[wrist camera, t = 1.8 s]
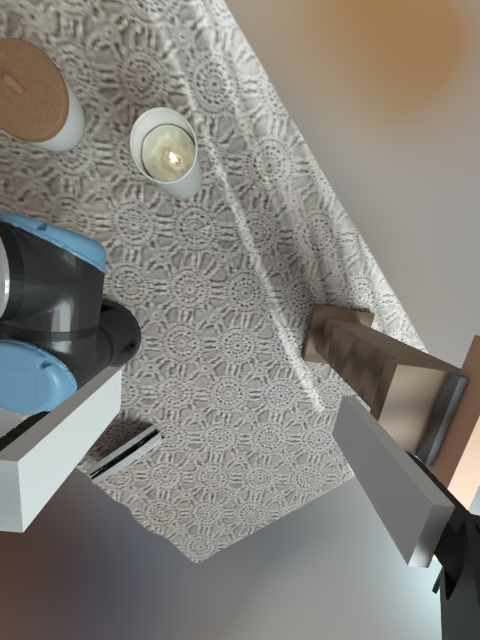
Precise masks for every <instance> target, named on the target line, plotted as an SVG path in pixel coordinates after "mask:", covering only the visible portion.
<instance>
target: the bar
mask: <svg viewBox="0 0 480 640" xmlns="http://www.w3.org/2000/svg"><path fill="white" fill-rule="evenodd" d="M460 375H462V376H464V377H466V378H468V380H467V383H466V385H465V388H464V390H463V392H462V395H461V397H460V400H459V402H458V405H457V407H456V409H455V412H454V414H453V417H452V419H451V422H450V424H449V426H448V429H447V431H446V434H445V436H444V439H443V441H442V443H441V446H440V448H439V451H438V453H437V456H436V458H435V460H434V463H433V465H432V466H430V465H425V464H424V463H423V464H424V465H425V466H426V467H427V468H428V469H429V470H430V472H431V473H433V474H434V475H435V476H436V478H437V479H438V480H439V482H441V483H442V484H443V485H444V486H445V487H446V488H447V489H448V490H449V491H450V492H451V493H452V494H453V495H454V496H455V498H456V499H457V500H458V501H459V502H460V503H461V504H462V505H463V506H464V507H465V508H466V509H467V510H468V508H469V506H470V504H471V502H472V500H473V498H474V495H475V493H476V491H477V489H478V487H479V485H480V336H477V335H475V336H474V339H473V341H472V344H471V346H470V349H469V351H468V354H467V357H466V359H465V362H464V364H463V367H462V369H461V371H460ZM432 560H438V559H437V558H436V556H435V555H434V556H433V558H432Z"/></svg>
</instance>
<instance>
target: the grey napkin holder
mask: <svg viewBox="0 0 480 640" xmlns="http://www.w3.org/2000/svg"><path fill="white" fill-rule="evenodd" d="M156 428H157V427H156V426H155V425H154V424H153V425H152V426H150V427H149V428H147V429H146V430H144V431H143V432H141V433H140V434H138V435H137V436H135V437H134V438H132V439H131V440H129V441H128V442H127V443H125V444H124V445H122V446H121V447H119V448H118V449H116V450H115V451H113V452H112V453H110V454H109V455H107V456H106V457H104V458H103V459H101V460H100V461H99V462H97V463H96V464H94V465H93V466H91V467H90V468H89V469H87V472H88V475H89V474H90V476H91V475H93V474H94V473H96V472H98V471H99V470H101V469H102V468H103V469H102V470H101V471H99V472H98V473H97V474H96V475H94V476H93V477H92V480H91V481H92V482H93V484H96V483H98V482H100V481H101V480H103V479H104V478H106V477H108V476H109V475H111V474H115V473H116V472H118V471H119V470H121V469H122V468H124V467H125V466H127V465H128V464H130V463H131V462H133V461H134V460H136V459H137V458H139V457H140V456H142V455H143V454H145V453H146V452H148V451H149V450H151V449H153V448H154V447H156V446H157V445H159V444H160V443H162V442H163V441H164V440H165V439H166V437H164V438H163V439H162V437H161V434H160V433H158V432H157V433H155V434H154V435H152V436H151V434H152V433H154V432H155V431H156ZM136 445H137V446H138V447H136V448H135V449H134V450H132V451H131V452H129V453H127V451H129V450H130V449H132V448H133V447H135V446H136ZM113 461H115V462H113ZM111 462H112V463H111Z"/></svg>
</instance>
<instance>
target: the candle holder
mask: <svg viewBox="0 0 480 640" xmlns="http://www.w3.org/2000/svg"><path fill="white" fill-rule="evenodd" d="M130 151H131V155H132V158H133V160H134V162H135V164H136V166H137V167H138V169H139V170H140V171H141V172H142V174H144V175H145V176H146V177H147V178H149V179H150V180H152V181H153V182H154V183H155V184H157V185H158V186H159V187H160V188H161V189H163V190H164V191H165V192H166V193H168V194H169V195H171V196H172V197H174V198H177V199H188V198H191V197H193V196H194V195H195V194H196V193H197V192H198V191H199V189H200V187H201V185H202V180H203V173H202V167H201V162H200V157H199V152H198V145H197V139H196V135H195V133H194V130H193V128H192V126H191V125H190V123H189V122H188V121H187V119H186V118H185V117H184V116H182V115H181V114H180V113H178V112H177V111H175V110H173V109H170V108H166V107H155V108H151V109H149V110H147V111H145V112H144V113H142V114H141V115H140V116H139V117H138V118H137V120H136V121H135V123H134V125H133V127H132V130H131V134H130Z"/></svg>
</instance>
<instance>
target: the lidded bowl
mask: <svg viewBox="0 0 480 640" xmlns="http://www.w3.org/2000/svg"><path fill="white" fill-rule="evenodd" d="M0 128H1V129H3V130H4V131H5V132H7V133H8V134H10V135H12V136H14V137H16V138H18V139H20V140H22V141H24V142H26V143H28V144H30V145H32V146H34V147H37V148H39V149H42V150H46V151H50V152H64V151H68V150H71V149H73V148H74V147H76V146H77V145H78V144H79V142H80V141H81V139H82V137H83V134H84V130H85V117H84V112H83V109H82V106H81V103H80V101H79V98H78V97H77V95H76V93H75V91H74V90H73V88H72V86H71V85H70V84H69V82H68V81H67V79H66V78H65V77H64V76H63V74H62V73H61V72H60V71H59V70H58V68H57V67H56V66H55V64H54V63H53V62H52V60H51V59H50V58H49V57H48V56H47V55H46V54H45V53H44V52H43V51H42V50H40V49H39V48H38V47H37V46H35V45H33V44H31V43H30V42H27V41H24V40H21V39H16V38H6V39H1V40H0Z"/></svg>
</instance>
